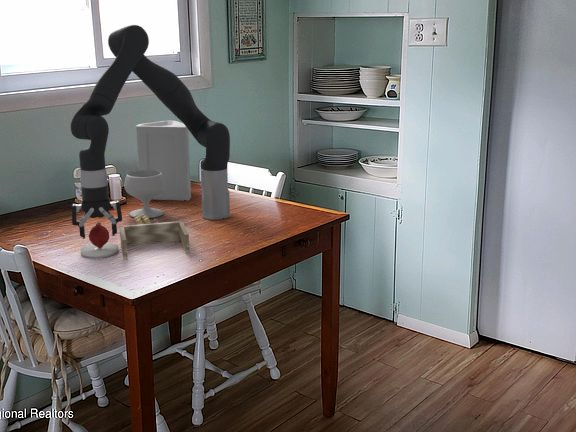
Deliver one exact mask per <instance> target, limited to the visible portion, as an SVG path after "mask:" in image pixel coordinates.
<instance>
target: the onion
mask: <svg viewBox="0 0 576 432" xmlns="http://www.w3.org/2000/svg"><path fill="white" fill-rule="evenodd" d="M88 238H89V241H90V244H91V243H92V244H93V245H94V246H96V247H98V248H102V247H103V246H104V245H105V244H106V243H107V242H109V240H110V232H109V229H108V228H107V227H105V226H104V225H102V223H101V221H98V222H97V223H96V224H95V226H92V228H91V229H90V231H89V234H88Z"/></svg>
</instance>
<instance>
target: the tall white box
mask: <svg viewBox="0 0 576 432" xmlns="http://www.w3.org/2000/svg"><path fill="white" fill-rule="evenodd" d="M135 133H136V136H135V137H136V149H137V167H138V169H137V170H157V171H160V172H161V173H162V175H163V177H164V180H165V188H164V190H163V192H162V193H160V194H159V195H157V196H156V197H154V198H152V199H151V200H154V201H155V200H160V201H184V200H187V201H190V199H191V198H192V194H191V193H192V190H191V189H192V187H191V186H192V185H191V165H190V161H191V160H190V139H189V130H188V128H187V127H186V126H185V125H184V123H183V122H181V121H177V120H162V121H153V122H146V123H145V122H144V123H139V124H136V125H135Z"/></svg>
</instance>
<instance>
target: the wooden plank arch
mask: <svg viewBox="0 0 576 432" xmlns="http://www.w3.org/2000/svg"><path fill="white" fill-rule="evenodd" d="M151 223H152V224H145V223H144V224H139V225H138V224H131V225H129V224H128V225H119V237H120V239H119V241H120V247H121V253H122V258H123V261H125V260H129V258H128V246H133V245H134V246H135V245H146V244H147V245H148V244H157V243H168V242H180V243H181V246H182V248H183V251H184V254H185V255H190V254H191V253H190V234H189V232H188V230H187V228H186V226H185V224H184V222H183V220H178V221H167V222H164V221H163V222H158V223H153V222H151Z"/></svg>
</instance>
